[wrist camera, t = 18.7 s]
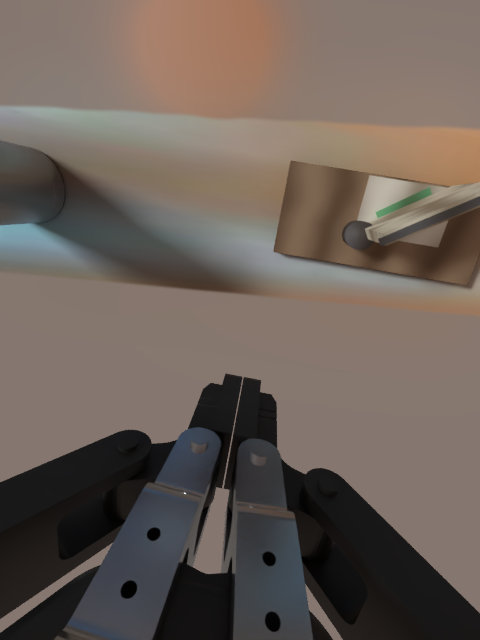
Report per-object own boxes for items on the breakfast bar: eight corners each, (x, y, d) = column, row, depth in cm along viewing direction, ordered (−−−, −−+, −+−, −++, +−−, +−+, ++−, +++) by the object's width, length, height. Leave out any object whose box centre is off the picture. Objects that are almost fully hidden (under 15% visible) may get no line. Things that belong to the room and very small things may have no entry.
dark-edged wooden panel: (346, 250, 38) (369, 264, 29) (338, 227, 37) (359, 233, 28) (457, 204, 35) (520, 203, 26) (450, 177, 34) (513, 167, 25)
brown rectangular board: (273, 249, 41) (273, 252, 39) (290, 163, 38) (291, 160, 35) (457, 281, 40) (468, 286, 38) (493, 195, 37) (507, 195, 34)
